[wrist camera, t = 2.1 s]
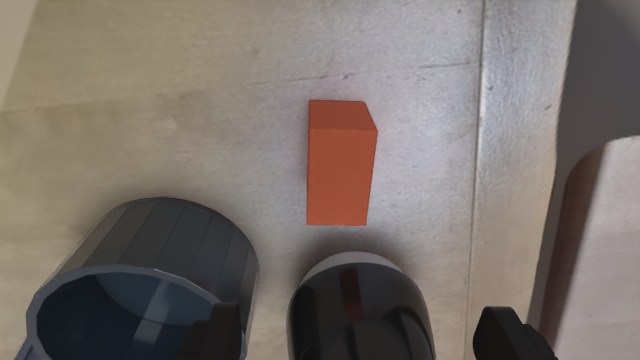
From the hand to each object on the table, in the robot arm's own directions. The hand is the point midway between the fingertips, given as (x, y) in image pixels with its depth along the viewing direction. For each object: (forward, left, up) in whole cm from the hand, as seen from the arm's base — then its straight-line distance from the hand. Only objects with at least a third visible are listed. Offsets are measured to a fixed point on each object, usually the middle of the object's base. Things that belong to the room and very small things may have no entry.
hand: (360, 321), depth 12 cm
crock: (-12, -11, -14) cm, 22 cm away
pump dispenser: (+2, -12, -14) cm, 19 cm away
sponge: (0, 0, -14) cm, 14 cm away
